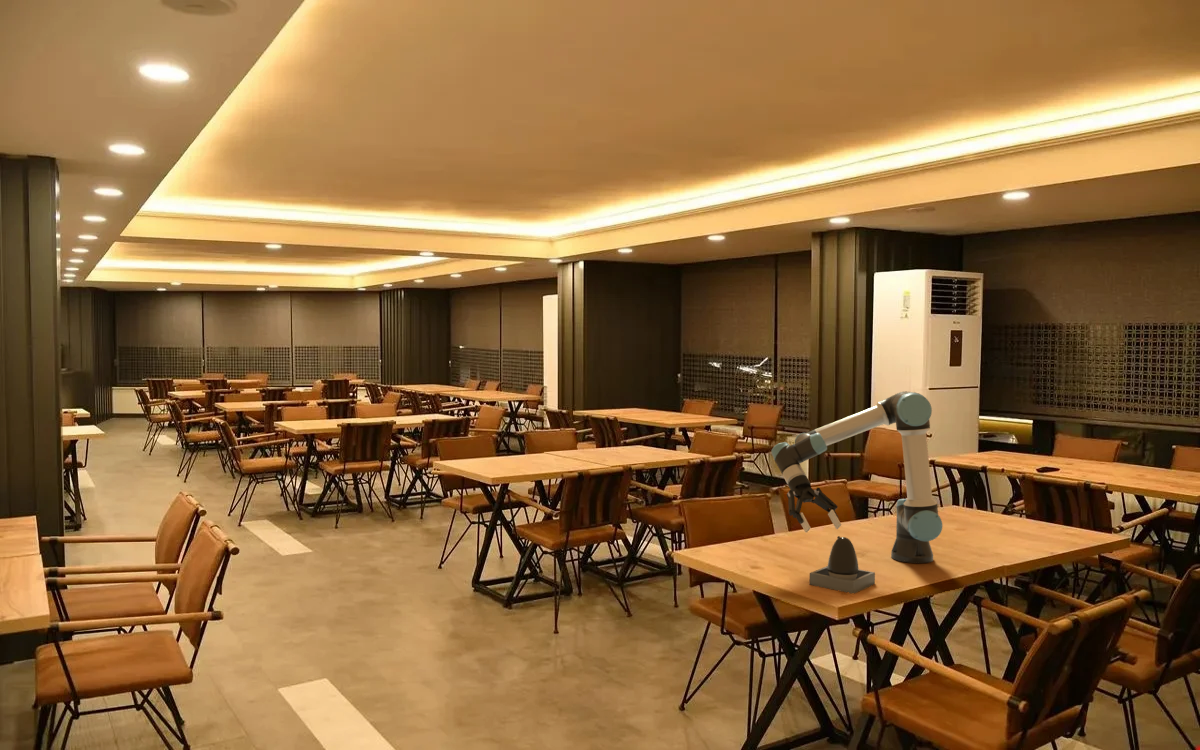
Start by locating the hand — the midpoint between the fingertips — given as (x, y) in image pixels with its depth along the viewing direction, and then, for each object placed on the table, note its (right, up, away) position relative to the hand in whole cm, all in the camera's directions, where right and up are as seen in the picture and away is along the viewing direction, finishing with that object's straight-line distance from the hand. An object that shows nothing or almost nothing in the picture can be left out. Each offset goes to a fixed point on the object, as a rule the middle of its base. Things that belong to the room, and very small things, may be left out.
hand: (823, 528), depth 298 cm
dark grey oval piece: (+4, -17, -8) cm, 19 cm away
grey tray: (+4, -17, -9) cm, 20 cm away
